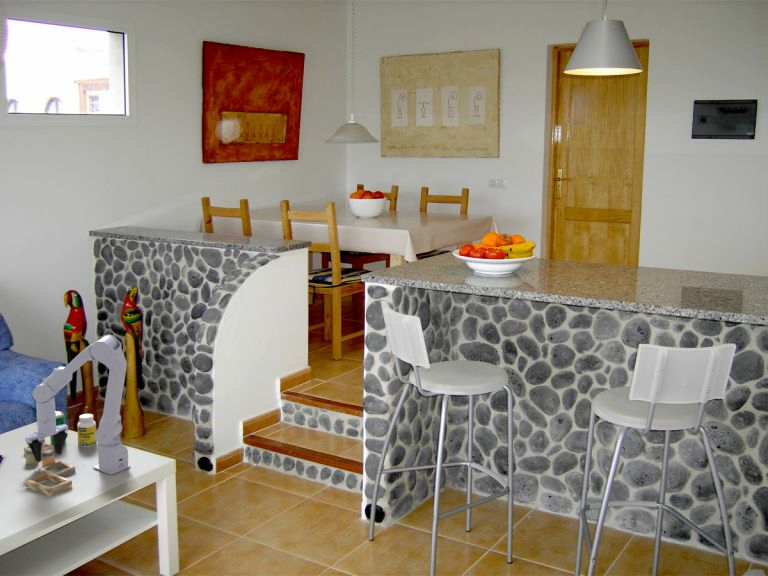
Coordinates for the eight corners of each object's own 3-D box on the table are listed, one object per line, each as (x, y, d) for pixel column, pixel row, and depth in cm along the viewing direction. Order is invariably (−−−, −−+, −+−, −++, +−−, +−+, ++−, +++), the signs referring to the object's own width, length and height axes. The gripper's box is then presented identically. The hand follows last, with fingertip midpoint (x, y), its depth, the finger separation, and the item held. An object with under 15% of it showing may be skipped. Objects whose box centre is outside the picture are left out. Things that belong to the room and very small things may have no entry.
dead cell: (48, 452, 282) (47, 438, 281) (37, 456, 279) (36, 442, 278) (40, 450, 284) (40, 436, 283) (30, 453, 281) (29, 439, 280)
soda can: (60, 448, 287) (59, 416, 285) (47, 447, 288) (45, 414, 286) (69, 443, 292) (67, 411, 290) (56, 442, 293) (54, 410, 291)
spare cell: (41, 463, 275) (40, 449, 274) (30, 467, 271) (30, 452, 270) (34, 460, 277) (33, 446, 276) (23, 464, 273) (22, 450, 272)
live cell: (58, 465, 273) (57, 451, 272) (47, 469, 270) (46, 455, 269) (50, 462, 275) (49, 448, 274) (40, 466, 272) (39, 452, 271)
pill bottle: (77, 449, 287) (76, 419, 285) (78, 443, 293) (77, 413, 291) (96, 448, 289) (94, 418, 287) (97, 441, 295) (95, 412, 293)
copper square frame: (54, 453, 283) (53, 445, 282) (36, 460, 277) (36, 451, 276) (41, 449, 286) (41, 441, 286) (24, 455, 281) (23, 447, 280)
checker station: (93, 478, 263) (93, 472, 263) (49, 496, 250) (49, 489, 250) (60, 466, 272) (59, 459, 272) (15, 482, 259) (15, 476, 259)
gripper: (57, 409, 277) (59, 447, 280) (18, 421, 265) (21, 461, 268) (71, 414, 274) (73, 452, 276) (32, 426, 262) (34, 466, 264)
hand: (48, 457), depth 272 cm, fingers open, 7 cm apart
